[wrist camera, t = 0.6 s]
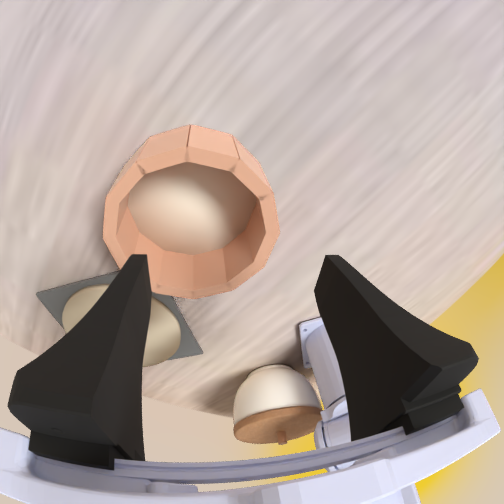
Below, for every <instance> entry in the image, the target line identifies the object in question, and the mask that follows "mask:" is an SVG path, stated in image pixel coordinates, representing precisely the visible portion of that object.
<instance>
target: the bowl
mask: <svg viewBox="0 0 504 504" xmlns="http://www.w3.org/2000/svg"><path fill="white" fill-rule="evenodd" d="M279 234H280V229H279V223H278V217H277V211H276V205H275V199H274V193H273V191H272V189H271V187H270V184H269V182H268V180H267V178H266V176H265V174H264V172H263V169H262V167H261V165H260V163H259V162H258V161H257V159H256V158H255V157H254V156H253V155H252V154H251V153H250V152H249V151H248V150H247V149H246V148H245V147H244V146H243V145H242V144H241V143H240V142H239V141H238V140H237V139H236V138H235V137H234V136H233V135H231V134H228V133H224V132H220V131H216V130H212V129H208V128H204V127H200V126H195V125H191V126H190V125H187V126H183V127H180V128H176V129H173V130H170V131H166V132H163V133H160V134H157V135H153V136H150V137H149V138H148V139H147V140H146V141H145V142H144V144H143V145H142V146H141V147H140V148H139V149H138V150H137V151H136V153H135V154H134V155H133V156H132V157H131V158H130V159H129V161H128V162H127V163H126V164H125V165H124V167H123V168H122V170H121V172H120V173H119V175H118V177H117V179H116V180H115V182H114V184H113V186H112V187H111V189H110V191H109V193H108V194H107V196H106V200H105V211H104V224H103V240H104V241H105V243H106V245H107V247H108V249H109V251H110V252H111V254H112V256H113V258H114V260H115V261H116V263H117V265H118V267H119V268H120V270H121V268H122V267H123V265H124V264H125V262H126V261H127V259H128V258H129V257H130V256H131V255H132V254H147V259H148V267H149V275H150V283H151V290H152V292H155V293H158V294H163V295H170V296H176V297H182V298H189V299H198V298H202V297H207V296H211V295H215V294H220V293H224V292H228V291H232V290H234V289H236V288H237V287H238V286H240V285H241V284H242V283H244V282H245V281H246V280H248V279H249V278H250V277H252V276H253V275H254V274H256V273H257V272H259V271H260V270H261V269H263V268H264V267H265V264H266V262H267V260H268V258H269V256H270V254H271V251H272V249H273V247H274V245H275V243H276V241H277V238H278V236H279Z"/></svg>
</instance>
